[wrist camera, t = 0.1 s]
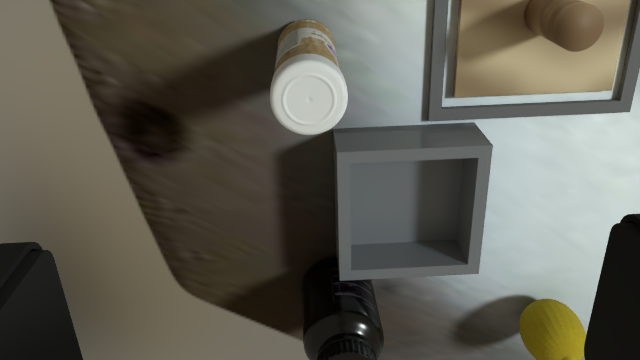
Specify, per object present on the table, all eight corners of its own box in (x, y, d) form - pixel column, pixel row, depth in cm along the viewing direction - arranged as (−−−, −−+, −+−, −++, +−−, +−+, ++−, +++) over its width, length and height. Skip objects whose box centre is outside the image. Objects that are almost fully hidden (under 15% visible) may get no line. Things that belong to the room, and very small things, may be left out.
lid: (463, -78, 41) (494, -75, 35) (638, -85, 42) (701, -82, 35) (451, 93, 47) (475, 123, 41) (604, 86, 47) (653, 115, 41)
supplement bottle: (354, 318, 57) (368, 416, 46) (291, 300, 55) (290, 396, 44) (383, 265, 54) (405, 356, 43) (317, 244, 52) (322, 332, 42)
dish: (332, 128, 47) (336, 152, 43) (474, 122, 48) (492, 145, 43) (335, 248, 53) (339, 280, 48) (463, 242, 53) (478, 273, 48)
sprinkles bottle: (346, 47, 44) (365, 101, 32) (304, 86, 46) (308, 152, 34) (305, 4, 43) (309, 44, 31) (264, 46, 44) (252, 99, 32)
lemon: (505, 290, 56) (536, 347, 49) (560, 277, 55) (600, 333, 48) (511, 332, 58) (541, 392, 51) (564, 319, 58) (603, 378, 50)
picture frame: (439, -108, 40) (441, -108, 39) (676, -117, 40) (680, -117, 40) (427, 119, 47) (428, 121, 47) (626, 109, 48) (629, 111, 47)
